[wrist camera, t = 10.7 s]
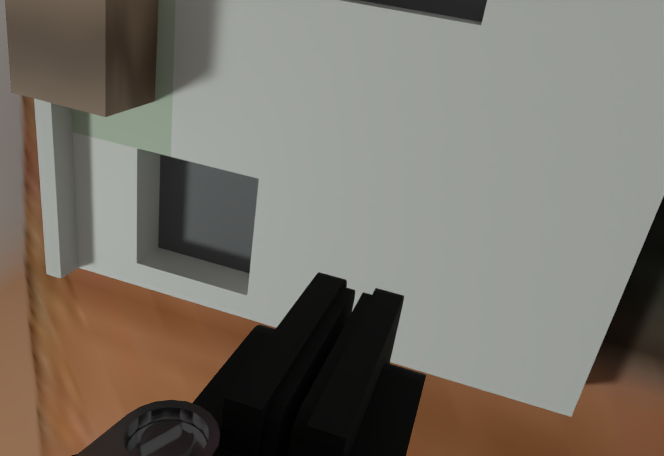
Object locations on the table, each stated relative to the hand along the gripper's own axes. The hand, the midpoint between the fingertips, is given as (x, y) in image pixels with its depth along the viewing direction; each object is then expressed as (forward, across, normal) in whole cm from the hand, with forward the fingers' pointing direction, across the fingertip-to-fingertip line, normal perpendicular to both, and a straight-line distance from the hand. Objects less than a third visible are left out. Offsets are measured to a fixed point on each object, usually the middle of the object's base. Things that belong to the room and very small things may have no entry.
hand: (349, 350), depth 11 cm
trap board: (+19, +6, -1) cm, 20 cm away
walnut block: (+17, +17, -2) cm, 24 cm away
